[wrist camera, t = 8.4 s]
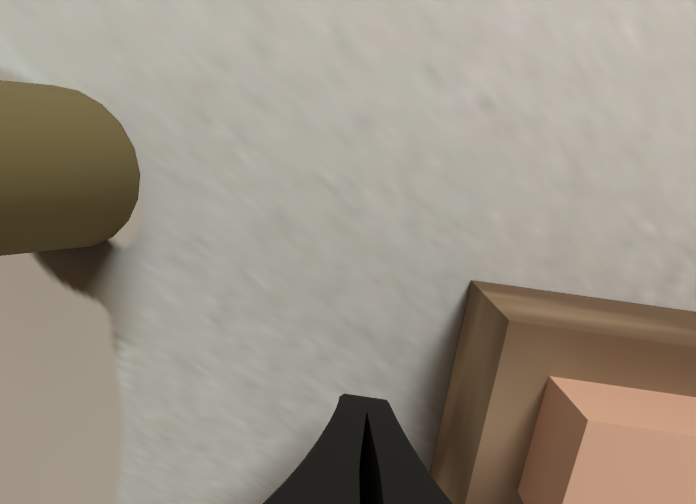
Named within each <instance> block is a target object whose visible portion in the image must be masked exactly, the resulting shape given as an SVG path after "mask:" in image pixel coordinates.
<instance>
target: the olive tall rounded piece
mask: <svg viewBox="0 0 696 504" xmlns="http://www.w3.org/2000/svg"><path fill="white" fill-rule="evenodd" d="M139 180H140V172H139V167H138V163H137V158H136V154H135V149H134V147H133V145H132V143H131V141H130V140H129V138H128V136H127V134H126V132H125V130H124V128H123V127H122V125H121V124H120V122H119V121H118V120H117V119H116V118H115V117H114V116H113V115H112V114H111V113H110V112H109V111H108V110H107V109H106V108H105V107H104V106H103V105H102V104H100V103H99V102H97V101H95V100H93V99H92V98H90V97H88V96H86V95H85V94H83V93H81V92H79V91H77V90H72V89H67V88H63V87H58V86H53V85H43V84H33V83H22V82H11V81H1V80H0V256H1V255H11V254H20V253H31V252H41V251H51V250H60V249H70V248H80V247H90V246H94V245H97V244H99V243H101V242H103V241H105V240H107V239H109V238H111V237H113V236H114V235H115V234H116V233H117V232H118V231H119V230H120V229H121V228H122V227H123V226H124V225H125V223H127V221H128V220H129V218H130V216H131V214H132V211H133V209H134V207H135V205H136V202H137V200H138V192H139Z"/></svg>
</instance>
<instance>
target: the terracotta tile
mask: <svg viewBox="0 0 696 504" xmlns="http://www.w3.org/2000/svg"><path fill="white" fill-rule="evenodd" d="M518 493H519V495H520V497H521V499H522V501H523V503H524V504H696V397H690V396H683V395H676V394H670V393H663V392H656V391H649V390H642V389H635V388H628V387H621V386H614V385H607V384H600V383H594V382H587V381H580V380H573V379H566V378H559V377H552V376H549V379H548V382H547V386H546V390H545V393H544V397H543V401H542V404H541V408H540V412H539V415H538V419H537V422H536V426H535V430H534V433H533V437H532V441H531V444H530V448H529V451H528V455H527V459H526V462H525V466H524V470H523V473H522V477H521V481H520V484H519V488H518Z"/></svg>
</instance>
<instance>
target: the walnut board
mask: <svg viewBox="0 0 696 504" xmlns="http://www.w3.org/2000/svg"><path fill="white" fill-rule="evenodd" d="M549 376H552V377H559V378H566V379H573V380H580V381H587V382H594V383H600V384H607V385H614V386H621V387H628V388H635V389H642V390H649V391H656V392H663V393H670V394H676V395H683V396H690V397H696V312H692V311H685V310H678V309H671V308H664V307H657V306H650V305H643V304H635V303H628V302H621V301H614V300H607V299H600V298H593V297H586V296H579V295H572V294H565V293H558V292H551V291H544V290H537V289H529V288H522V287H515V286H508V285H501V284H494V283H487V282H480V281H473V280H471V284H470V289H469V293H468V298H467V303H466V308H465V312H464V317H463V322H462V326H461V331H460V336H459V340H458V345H457V350H456V354H455V359H454V364H453V368H452V373H451V378H450V383H449V387H448V392H447V397H446V401H445V406H444V411H443V415H442V420H441V425H440V429H439V434H438V439H437V444H436V448H435V453H434V458H433V462H432V467H431V472H430V475H431V476H432V477H433V479H434V480H435V482H436V483H437V484H438V486H439V487H440V488H441V490H442V491H443V492H444V494H445V495H446V496H447V497H448V498H449V500H450V501H451V502H452V503H453V504H524V503H523V501H522V499H521V497H520V495H519V493H518V488H519V484H520V481H521V477H522V473H523V470H524V466H525V462H526V459H527V455H528V451H529V448H530V444H531V441H532V437H533V433H534V430H535V426H536V422H537V419H538V415H539V412H540V408H541V404H542V401H543V397H544V393H545V390H546V386H547V382H548V379H549Z"/></svg>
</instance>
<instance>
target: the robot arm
mask: <svg viewBox="0 0 696 504" xmlns="http://www.w3.org/2000/svg"><path fill="white" fill-rule="evenodd" d="M263 504H453V503H452V502H451V501H450V500H449V498H448V497H447V496H446V495H445V494H444V492H443V491H442V490H441V488H440V487H439V486H438V484H437V483H436V482H435V480H434V479H433V477H432V476H431V475H430V473H429V472H428V470H427V469H426V467H425V466H424V464H423V463H422V461H421V460H420V458H419V457H418V455H417V454H416V452H415V450H414V449H413V447H412V445H411V444H410V442H409V440H408V439H407V437H406V435H405V433H404V432H403V430H402V428H401V426H400V424H399V422H398V421H397V419H396V417H395V415H394V413H393V411H392V408H391V406H390V404H389V403H388V401H387V400H384V399H377V398H370V397H363V396H356V395H349V394H343V395H342V396H340V397H339V402H338V405H337V407H336V410H335V412H334V414H333V416H332V418H331V420H330V421H329V423H328V425H327V426H326V428H325V430H324V431H323V433H322V435H321V436H320V438H319V439H318V441H317V442H316V444H315V445H314V446H313V448H312V449H311V450H310V452H309V453H308V455H307V456H306V457H305V459H304V460H303V461H302V462H301V464H300V465H299V466H298V467H297V468H296V470H295V471H294V472H293V473H292V474H291V475H290V476H289V478H288V479H287V480H286V481H285V482H284V483H283V484H282V485H281V486H280V487H279V488H278V489H277V490H276V491H275V492H274V493H273V494H272V495H271V496H270V497H269V498H268V499H267V500H266V501H265V502H264V503H263Z"/></svg>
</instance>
